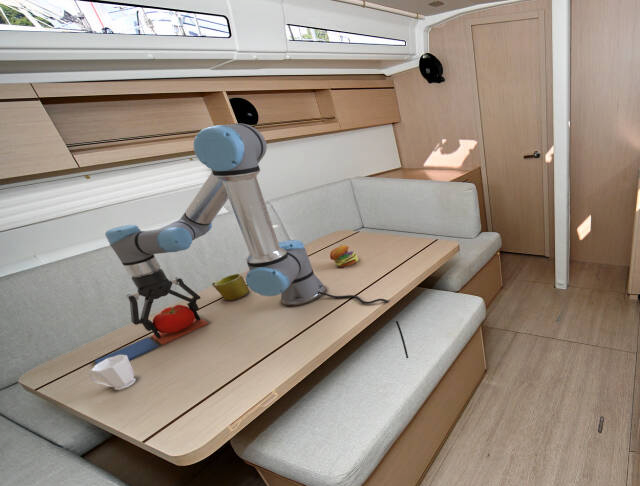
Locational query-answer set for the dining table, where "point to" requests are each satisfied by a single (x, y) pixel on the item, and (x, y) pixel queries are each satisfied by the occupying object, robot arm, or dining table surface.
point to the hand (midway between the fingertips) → (179, 327)
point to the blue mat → (133, 350)
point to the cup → (114, 372)
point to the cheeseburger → (343, 256)
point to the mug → (231, 287)
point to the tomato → (173, 319)
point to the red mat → (179, 332)
